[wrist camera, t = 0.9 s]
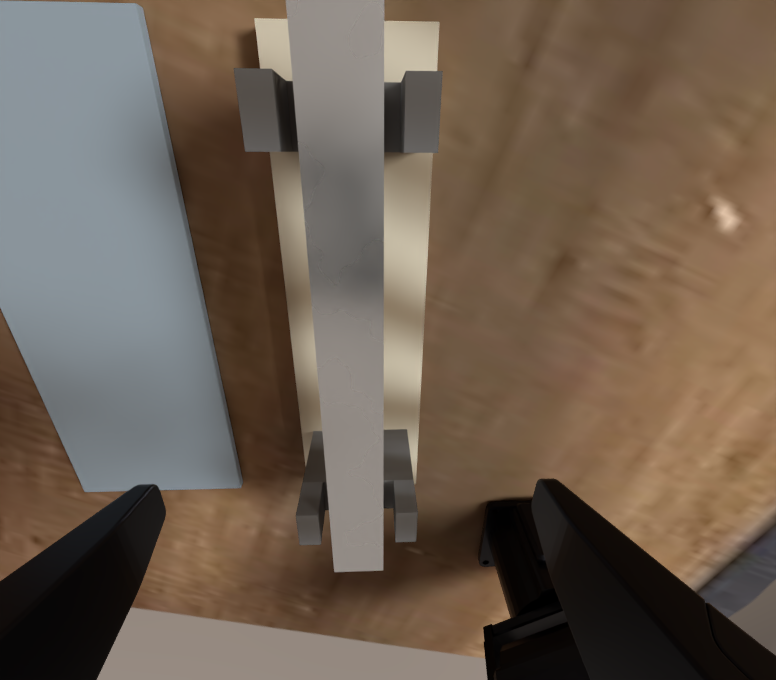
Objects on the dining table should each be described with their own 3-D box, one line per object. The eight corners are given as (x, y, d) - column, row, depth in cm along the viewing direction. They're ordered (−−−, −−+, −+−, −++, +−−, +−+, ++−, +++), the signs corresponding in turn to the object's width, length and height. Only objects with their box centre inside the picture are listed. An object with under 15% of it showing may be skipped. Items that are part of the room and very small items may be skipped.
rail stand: (414, 472, 26) (427, 574, 20) (309, 475, 26) (290, 578, 20) (435, 29, 16) (478, -52, 10) (261, 26, 16) (186, -60, 9)
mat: (243, 482, 26) (240, 488, 26) (89, 486, 26) (84, 492, 25) (142, 7, 15) (135, 3, 15) (-127, 2, 15) (-143, -3, 14)
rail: (382, 527, 21) (383, 570, 19) (338, 529, 21) (334, 572, 19) (381, 22, 12) (384, -7, 9) (301, 20, 12) (285, -9, 9)
